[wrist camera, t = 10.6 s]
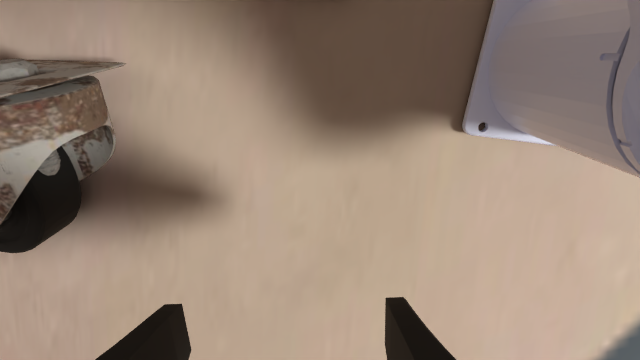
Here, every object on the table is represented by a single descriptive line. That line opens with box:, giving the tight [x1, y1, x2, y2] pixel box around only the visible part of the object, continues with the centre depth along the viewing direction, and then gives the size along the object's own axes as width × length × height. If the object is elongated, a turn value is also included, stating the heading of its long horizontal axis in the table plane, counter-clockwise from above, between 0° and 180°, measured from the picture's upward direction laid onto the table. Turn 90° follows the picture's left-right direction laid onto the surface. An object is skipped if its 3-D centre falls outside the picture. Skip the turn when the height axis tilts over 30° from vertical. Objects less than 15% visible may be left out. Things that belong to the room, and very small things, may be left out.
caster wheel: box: [0, 59, 126, 253], centre depth 18 cm, size 7×11×10 cm
